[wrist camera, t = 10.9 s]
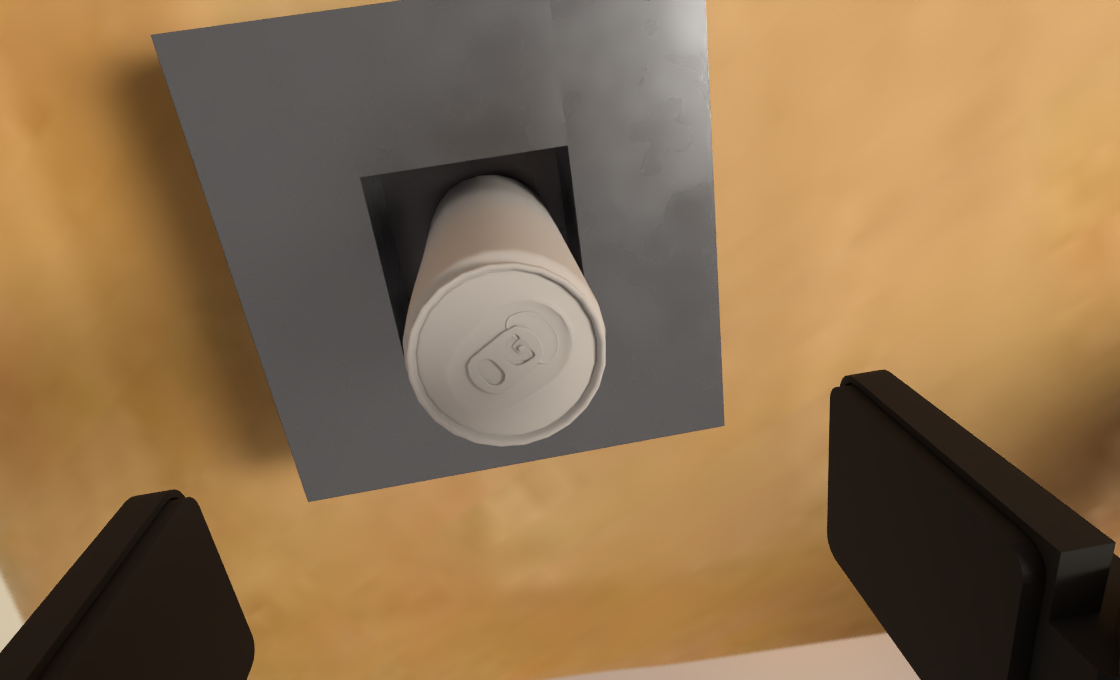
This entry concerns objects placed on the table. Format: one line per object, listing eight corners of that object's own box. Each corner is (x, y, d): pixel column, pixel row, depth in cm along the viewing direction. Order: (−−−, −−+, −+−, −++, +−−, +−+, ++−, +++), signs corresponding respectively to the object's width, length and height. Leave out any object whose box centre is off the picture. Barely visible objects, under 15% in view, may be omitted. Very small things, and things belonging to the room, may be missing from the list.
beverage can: (577, 241, 27) (653, 366, 16) (485, 317, 28) (497, 487, 17) (497, 145, 25) (520, 210, 14) (401, 228, 26) (352, 353, 15)
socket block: (659, -22, 25) (703, -42, 20) (686, 371, 31) (724, 425, 26) (212, 40, 24) (150, 35, 19) (332, 434, 30) (308, 502, 25)
